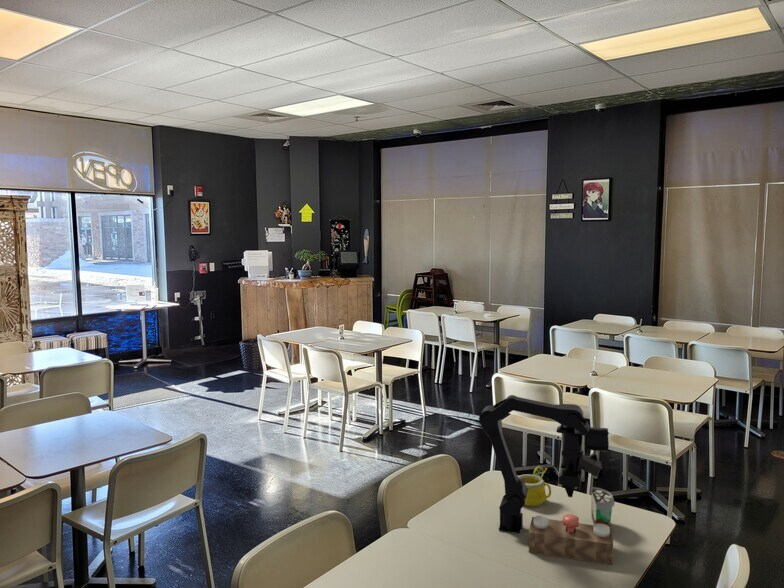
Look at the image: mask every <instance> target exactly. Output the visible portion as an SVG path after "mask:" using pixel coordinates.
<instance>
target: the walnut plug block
mask: <svg viewBox="0 0 784 588" xmlns="http://www.w3.org/2000/svg"><path fill="white" fill-rule="evenodd" d="M534 517H535V516H532V517H531V522H530V525H529V531H528V553H532V554H539V555H546V556H551V557H559V558H565V559H572V560H578V561H585V562H591V563H599V564H603V565H604V564H605V565H611V566H613V565H614V537H613V527H611V526H610V536H609V537H606V538H601V537H598V536H596V535H594V533H593V530H594V525H593V524H589V523H580V522H579V526H578V527H576V528H574V533H572V532H568V527H566V526H564V525H563V520H558V519H552V518H551V519H550V518H548V519H549V527H548V528H547V529H538V528H535V527H534V526H533V518H534Z"/></svg>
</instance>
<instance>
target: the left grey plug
mask: <svg viewBox="0 0 784 588" xmlns="http://www.w3.org/2000/svg"><path fill="white" fill-rule="evenodd" d="M533 517H534V518H533V526H534V527H535V528H538V529H547V528H548V527H549V519H550V518H549V517H547V516H543V515H535V516H533Z"/></svg>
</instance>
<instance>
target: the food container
mask: <svg viewBox="0 0 784 588" xmlns="http://www.w3.org/2000/svg"><path fill="white" fill-rule="evenodd" d="M590 494H591V521H592V525H595V524H598V523H600V524H605V525H607V526H609V527H611V521H612V511H613V507H614V506H615V498H614V496H613V494H612V493H611V492H610V491H608V490H605V489H603V488H601V487H594V486H592V487H591V491H590Z"/></svg>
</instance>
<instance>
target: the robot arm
mask: <svg viewBox="0 0 784 588" xmlns="http://www.w3.org/2000/svg"><path fill="white" fill-rule="evenodd" d="M513 411H514V412H517V413H518V412H519V413H522V414H523V413H524V414H527V415H532V416H536V417H541V418H546V419H550V420H553V421H555V422H556V423H558V424H560V425H559V426H557V427H556V430H555V432H556V433H558V434H562V445H561V448H562V449H561V465H560V469H561V471H560V472H559V474H558V476H557V477H558V478H557V481H558V485H561V486H563V487H564V490H565V492H566V495H567V497H568V498H573V494H574V491H575V488H580V487H581V483H582V474H583V471H584V472H587V473H589V474H590V475H592V476H593V477H598V475H599V474H600V471H601V469H602V462H601V461H600V460H599V457H598V456H599V455H598V454H596V453H591V454H590V455H585V454H584V450H583V436H584V446H585V447H586V449H588V451H595V452H604V453H609V447H610V446H609V445H610V444H609V442H610V441H609V428H608V427H607V428H606V427H594V426H593V427H592V426H591V427H590V423H589V422H588V421H587V420H586V418H585V416H584V411H583V409H582V408H581V406H579V405H577V404H570V403H559V404H558V403H557V404H553V403H548V402H543V401H539V400H534V399H530V398H524V397H520V396H516V395H514V394H510V395H508V396H507V397H506V398H504V399H502V400H500V401H498V402H496V403H495V404H494V405H487V406H485V407H484V408H483V409H482V412H481V413H480V415H479V418H478V421H479V423H480V426H481V429H482V430H483V431H484V433H485V434H486V435H487V437H488V438H489V440H490V443H491V446H492V448H493V452H494V455H495V457H496V460H497V463H498V466H499V470H500V472H501V475H502V477H503V481H504V495H503V496H502V499H501V502H500V505H499V508H498V509H499V527H498V531H499V532H507V533H514V534H520V533H521V530H522V529H523V526H524V525H523V524H524V513H523V512H522V508H524V506H526V505H525V501H526V497H527V493H528V488H527V486H526V484H525V479H524V478H522V479H520V478H519V477H518V476H519V475H518V474H517V471H516V469H515V466H514V463H513V459H512V457H511V454H510V451H509V448H508V446H507V442H506V439H505V436H504V434H503V422H502V419H503V418H505V417H506V416H507V415H509V414H510V413H511V412H513Z"/></svg>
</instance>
